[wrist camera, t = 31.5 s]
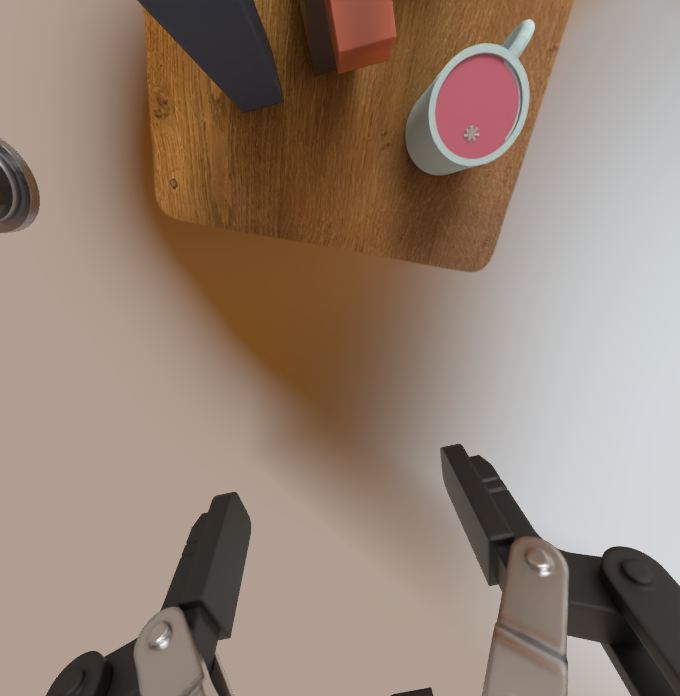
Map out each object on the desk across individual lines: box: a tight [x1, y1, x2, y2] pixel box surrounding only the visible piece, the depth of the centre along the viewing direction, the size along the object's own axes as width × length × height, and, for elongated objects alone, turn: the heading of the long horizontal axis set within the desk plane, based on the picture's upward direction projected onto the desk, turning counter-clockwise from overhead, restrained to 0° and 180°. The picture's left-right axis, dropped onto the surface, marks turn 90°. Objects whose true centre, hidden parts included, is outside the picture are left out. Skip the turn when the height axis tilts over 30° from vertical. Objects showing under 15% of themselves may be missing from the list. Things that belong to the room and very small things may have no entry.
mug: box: [405, 19, 535, 175], centre depth 33 cm, size 14×9×10 cm
